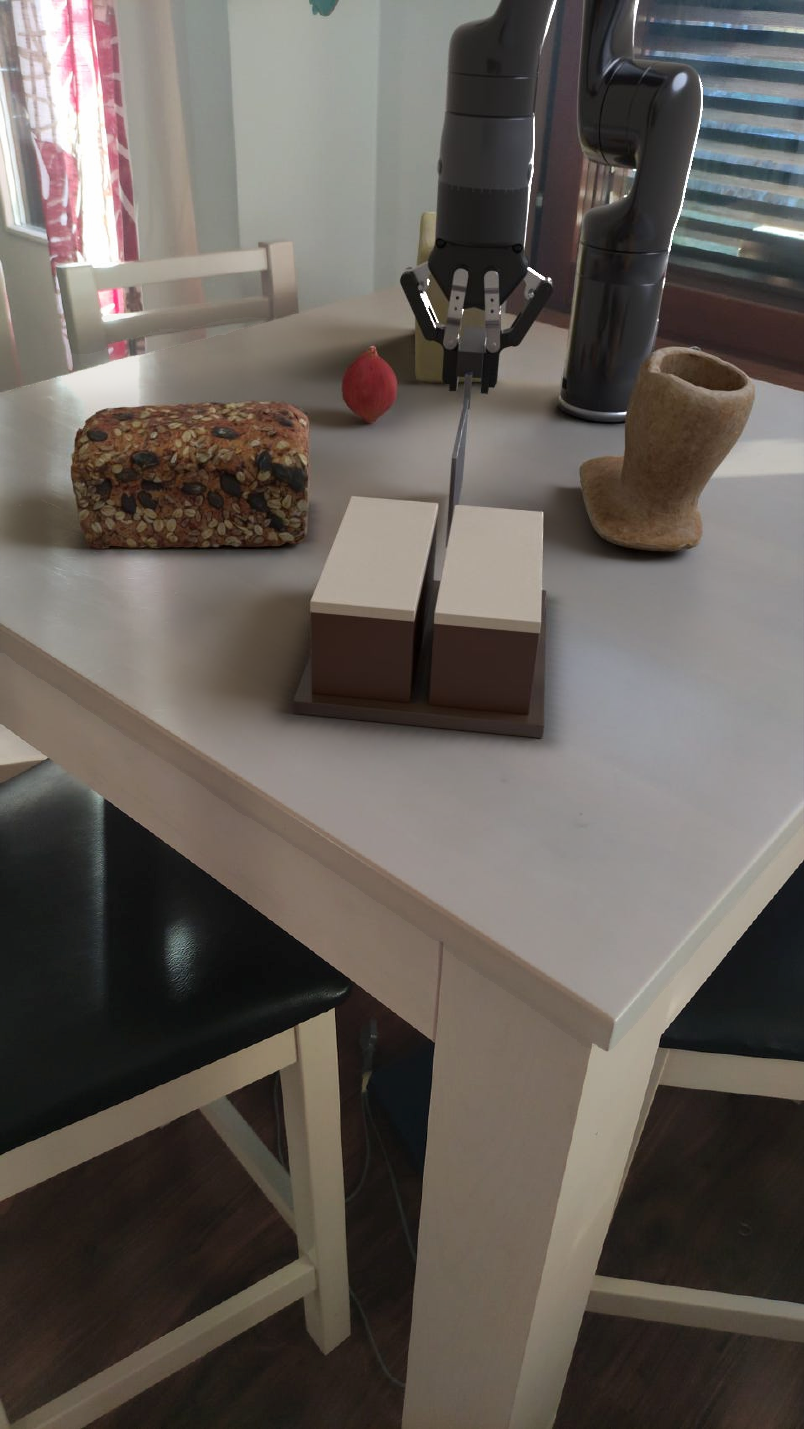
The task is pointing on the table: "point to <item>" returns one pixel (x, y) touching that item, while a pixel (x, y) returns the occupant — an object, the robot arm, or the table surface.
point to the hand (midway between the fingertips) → (468, 389)
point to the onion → (369, 386)
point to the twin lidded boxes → (430, 620)
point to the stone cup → (667, 450)
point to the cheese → (437, 312)
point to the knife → (464, 407)
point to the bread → (193, 475)
